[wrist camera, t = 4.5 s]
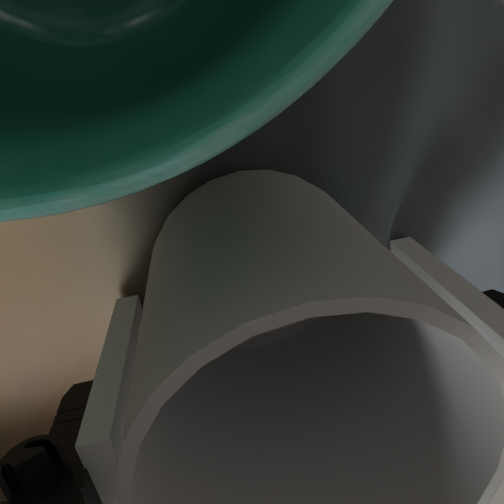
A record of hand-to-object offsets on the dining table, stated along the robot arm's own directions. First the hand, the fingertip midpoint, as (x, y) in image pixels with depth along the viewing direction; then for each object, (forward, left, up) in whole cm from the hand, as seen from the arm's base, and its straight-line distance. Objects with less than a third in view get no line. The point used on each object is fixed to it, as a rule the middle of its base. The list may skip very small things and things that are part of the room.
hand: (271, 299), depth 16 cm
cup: (0, 0, 0) cm, 0 cm away
